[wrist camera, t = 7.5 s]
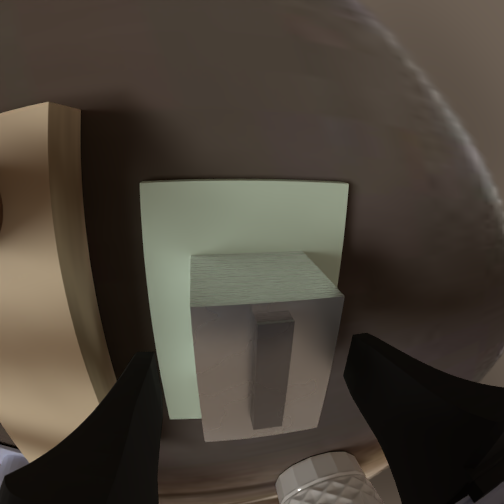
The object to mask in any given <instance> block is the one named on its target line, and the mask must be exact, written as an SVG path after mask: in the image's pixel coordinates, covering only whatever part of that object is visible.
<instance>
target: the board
mask: <svg viewBox="0 0 504 504" xmlns="http://www.w3.org/2000/svg"><path fill="white" fill-rule="evenodd" d="M348 189H349V184H348V183H345V182H337V181H317V180H289V179H185V180H157V181H142V182H141V183H140V204H141V222H142V236H143V249H144V260H145V270H146V279H147V288H148V297H149V305H150V312H151V319H152V326H153V333H154V339H155V346H156V352H157V357H158V363H159V369H160V374H161V379H162V384H163V389H164V394H165V399H166V404H167V408H168V413H169V417H170V419H197V418H202V417H201V410H200V402H199V393H198V385H197V376H196V367H195V357H194V347H193V336H192V325H191V312H190V259H191V255H211V254H237V253H263V252H289V251H303V252H304V253H305V254H306V255H307V257H308V258H309V259H310V260H311V261H312V262H313V263H314V264H315V265H316V266H317V267H318V268H319V269H320V270H321V271H322V272H323V273H324V274H325V275H326V277H327V278H328V279H329V280H330V281H331V282H332V283H333V284H334V285H335V286H336V287H337V285H338V278H339V271H340V264H341V256H342V248H343V240H344V231H345V221H346V211H347V200H348Z"/></svg>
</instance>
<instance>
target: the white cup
mask: <svg viewBox="0 0 504 504" xmlns="http://www.w3.org/2000/svg"><path fill="white" fill-rule="evenodd" d="M275 486H276V491H277V495H278V499H279V503H280V504H384V502H383V500H382V499H381V497H380V496H379V495H378V494H377V492H376V490H375V488H374V486H373V485H372V483H370V481H369V480H368V479H367V478H366V477H365V474H364V472H363V470H362V469H361V467H360V465H359V463H358V462H357V460H356V458H355V457H354V456H353V455H351V454H349V453H347V452H328V453H324V454H320V455H316V456H313V457H309V458H307V459H305V460H303V461H301V462H299V463H296V464H294V465H292V466H291V467H290V468H288V469H287V470H286V471H284V472H283V473H282V474H280V475H279V477H278V479H277V482H276V484H275Z"/></svg>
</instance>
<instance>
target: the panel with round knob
mask: <svg viewBox="0 0 504 504" xmlns="http://www.w3.org/2000/svg"><path fill="white" fill-rule="evenodd" d="M116 381H117V380H116V377H115V373H114V370H113V366H112V362H111V359H110V355H109V351H108V347H107V343H106V339H105V335H104V331H103V327H102V322H101V318H100V313H99V308H98V304H97V298H96V293H95V288H94V282H93V276H92V270H91V264H90V257H89V250H88V243H87V235H86V226H85V216H84V205H83V192H82V175H81V110H80V109H76V108H72V107H68V106H64V105H60V104H56V103H52V102H45V103H41V104H36V105H32V106H27V107H23V108H19V109H15V110H11V111H7V112H4V113H0V422H1V424H2V425H3V427H4V428H5V430H6V431H7V433H8V434H9V436H10V437H11V439H12V440H13V442H14V443H15V444H16V446H17V447H18V449H19V450H20V451H21V453H22V454H23V455H24V457H25V458H26V459H27V460H28V462H29V463H31V462H32V461H34V460H36V459H37V458H39V457H40V456H42V455H43V454H45V453H46V452H48V451H49V450H51V449H52V448H54V447H55V446H56V445H58V444H59V443H60V442H61V441H62V440H64V439H65V438H66V437H67V436H68V435H69V434H71V433H72V432H73V431H74V430H75V429H76V428H77V427H78V426H79V425H80V424H81V423H82V422H83V421H84V420H85V419H86V418H87V417H88V416H89V415H90V414H91V413H92V412H93V411H94V410H95V408H96V407H97V406H98V405H99V404H100V402H101V401H102V400H103V399H104V397H105V396H106V395H107V394H108V392H109V391H110V390H111V388H112V387H113V386H114V384H115V383H116Z"/></svg>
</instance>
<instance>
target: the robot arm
mask: <svg viewBox="0 0 504 504" xmlns="http://www.w3.org/2000/svg"><path fill="white" fill-rule="evenodd" d="M343 376H344V379H345V381H346V384H347V387H348V389H349V391H350V394H351V396H352V398H353V399H354V401H355V403H356V405H357V406H358V408H359V410H360V411H361V413H362V415H363V416H364V418H365V420H366V421H367V423H368V425H369V426H370V428H371V429H372V431H373V433H374V434H375V436H376V438H377V440H378V442H379V443H380V445H381V447H382V450H383V452H384V454H385V457H386V459H387V461H388V464H389V466H390V469H391V472H392V474H393V477H394V480H395V482H396V486H397V489H398V492H399V495H400V498H401V502H402V504H504V388H502V387H496V386H490V385H485V384H480V383H476V382H472V381H469V380H465V379H462V378H459V377H456V376H453V375H450V374H448V373H445V372H442V371H440V370H437V369H435V368H433V367H431V366H429V365H427V364H425V363H422V362H420V361H418V360H416V359H415V358H413V357H411V356H409V355H407V354H405V353H403V352H402V351H400V350H398V349H396V348H394V347H393V346H391V345H389V344H387V343H385V342H384V341H382V340H380V339H378V338H376V337H374V336H372V335H370V334H368V333H362V334H356V335H353V337H352V341H351V346H350V350H349V354H348V358H347V363H346V367H345V371H344V375H343ZM161 428H162V390H161V386H160V381H159V376H158V370H157V365H156V359H155V354H154V352H136V353H135V354H134V356H133V358H132V359H131V361H130V362H129V364H128V365H127V367H126V368H125V370H124V371H123V373H122V374H121V376H120V377H119V379H118V380H117V381H116V383H115V384H114V386H113V387H112V388H111V390H110V391H109V392H108V394H107V395H106V396H105V397H104V399H103V400H102V401H101V402H100V404H99V405H98V406H97V407H96V408H95V410H94V411H93V412H92V413H91V414H90V415H89V416H88V417H87V418H86V419H85V420H84V421H83V422H82V423H81V424H80V425H79V426H78V427H77V428H76V429H75V430H74V431H73V432H72V433H71V434H69V435H68V436H67V437H66V438H65V439H64V440H62V441H61V442H60V443H59V444H58V445H56V446H55V447H54V448H52V449H51V450H49V451H48V452H46V453H45V454H43V455H42V456H40V457H39V458H37V459H36V460H34V461H32V462H31V463H29V462H28V460H27V459H26V458H25V457H24V455H23V454H22V453H21V451H20V450H19V449H15V448H11V447H8V446H4V445H1V444H0V464H1V466H0V504H159V502H158V484H157V473H158V459H159V448H160V438H161Z"/></svg>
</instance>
